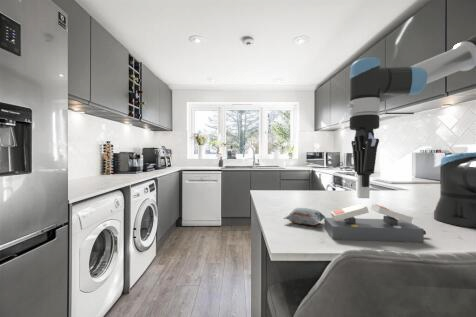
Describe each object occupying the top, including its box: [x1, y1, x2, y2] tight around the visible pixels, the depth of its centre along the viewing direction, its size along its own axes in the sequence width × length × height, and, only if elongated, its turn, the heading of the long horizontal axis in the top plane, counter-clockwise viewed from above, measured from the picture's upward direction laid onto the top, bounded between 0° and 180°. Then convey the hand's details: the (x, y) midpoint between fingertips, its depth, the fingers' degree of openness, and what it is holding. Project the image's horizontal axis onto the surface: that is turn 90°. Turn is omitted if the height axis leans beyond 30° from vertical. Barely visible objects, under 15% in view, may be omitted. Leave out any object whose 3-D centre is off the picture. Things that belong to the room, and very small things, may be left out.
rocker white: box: [370, 203, 414, 224], centre depth 67 cm, size 9×4×2 cm, turn 84°
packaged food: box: [283, 207, 327, 226], centre depth 79 cm, size 9×12×5 cm
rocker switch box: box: [323, 215, 427, 243], centre depth 67 cm, size 26×9×5 cm, turn 83°
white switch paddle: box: [330, 203, 369, 221], centre depth 68 cm, size 9×4×2 cm, turn 83°
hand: (363, 197), depth 68 cm, fingers closed
